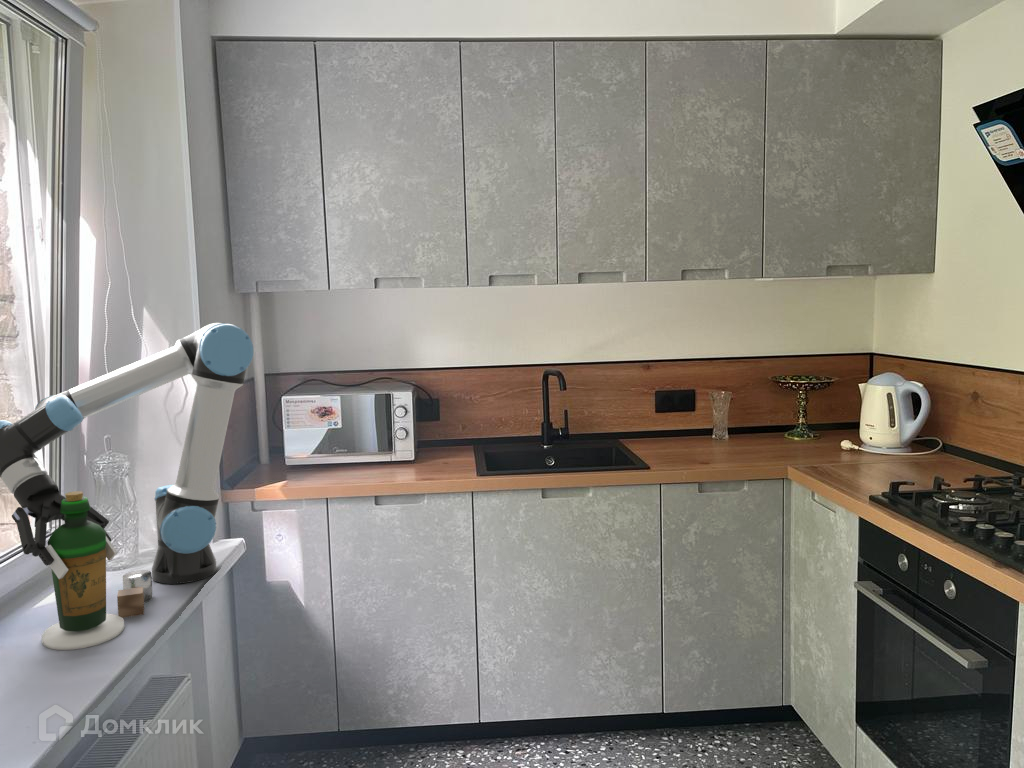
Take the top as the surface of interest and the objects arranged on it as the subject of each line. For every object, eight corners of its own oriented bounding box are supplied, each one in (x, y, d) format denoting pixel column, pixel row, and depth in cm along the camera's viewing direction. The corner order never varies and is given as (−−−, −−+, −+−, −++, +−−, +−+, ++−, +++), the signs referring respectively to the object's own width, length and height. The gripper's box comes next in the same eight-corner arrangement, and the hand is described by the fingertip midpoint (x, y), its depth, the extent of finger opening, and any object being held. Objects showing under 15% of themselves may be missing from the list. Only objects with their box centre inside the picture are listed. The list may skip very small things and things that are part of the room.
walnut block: (144, 608, 175) (143, 586, 174) (143, 614, 171) (142, 593, 171) (119, 611, 173) (118, 590, 172) (118, 618, 169) (117, 596, 169)
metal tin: (153, 593, 184) (151, 568, 183) (152, 602, 178) (150, 577, 177) (124, 596, 181) (123, 572, 181) (123, 606, 176) (121, 580, 175)
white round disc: (126, 614, 171) (126, 609, 171) (121, 642, 157) (121, 636, 157) (48, 625, 165) (47, 620, 165) (36, 655, 152) (35, 649, 151)
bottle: (80, 638, 154) (70, 502, 151) (41, 631, 158) (31, 497, 155) (124, 617, 164) (115, 489, 161) (86, 610, 168) (77, 484, 165)
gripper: (-18, 485, 151) (44, 573, 147) (88, 461, 172) (144, 537, 168) (-34, 509, 153) (27, 596, 149) (72, 483, 175) (127, 558, 171)
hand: (89, 565), depth 159 cm, fingers open, 11 cm apart
